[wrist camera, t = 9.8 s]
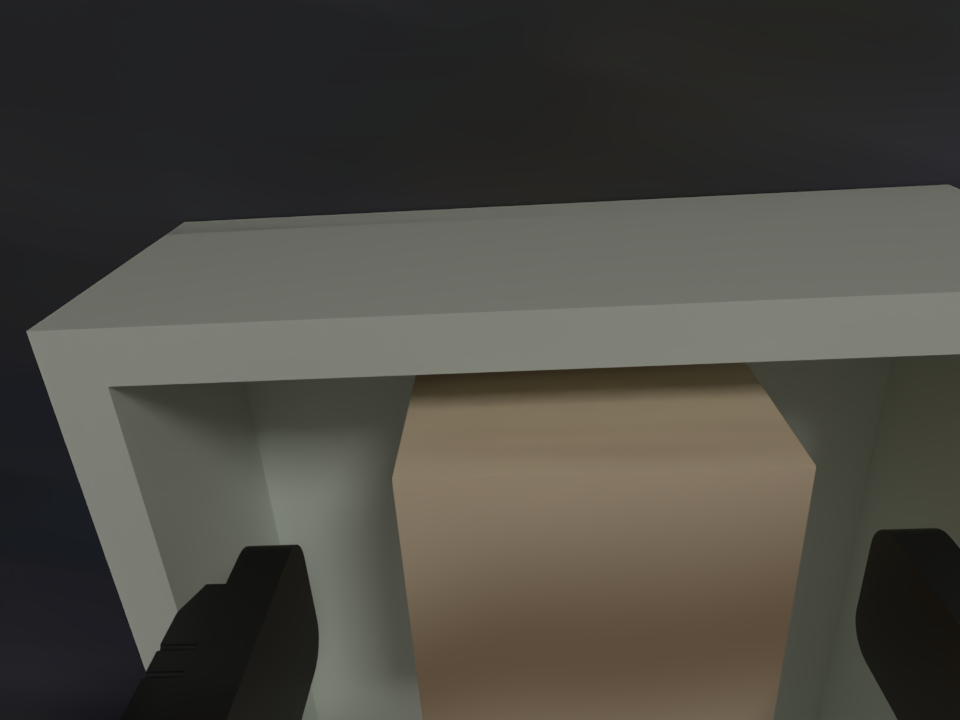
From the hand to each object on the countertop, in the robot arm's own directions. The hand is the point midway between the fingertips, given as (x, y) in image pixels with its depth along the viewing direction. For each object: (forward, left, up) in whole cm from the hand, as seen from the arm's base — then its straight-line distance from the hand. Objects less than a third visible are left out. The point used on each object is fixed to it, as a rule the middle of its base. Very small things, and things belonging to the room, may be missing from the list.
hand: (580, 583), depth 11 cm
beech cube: (0, 0, -4) cm, 4 cm away
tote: (+5, 0, -5) cm, 7 cm away
